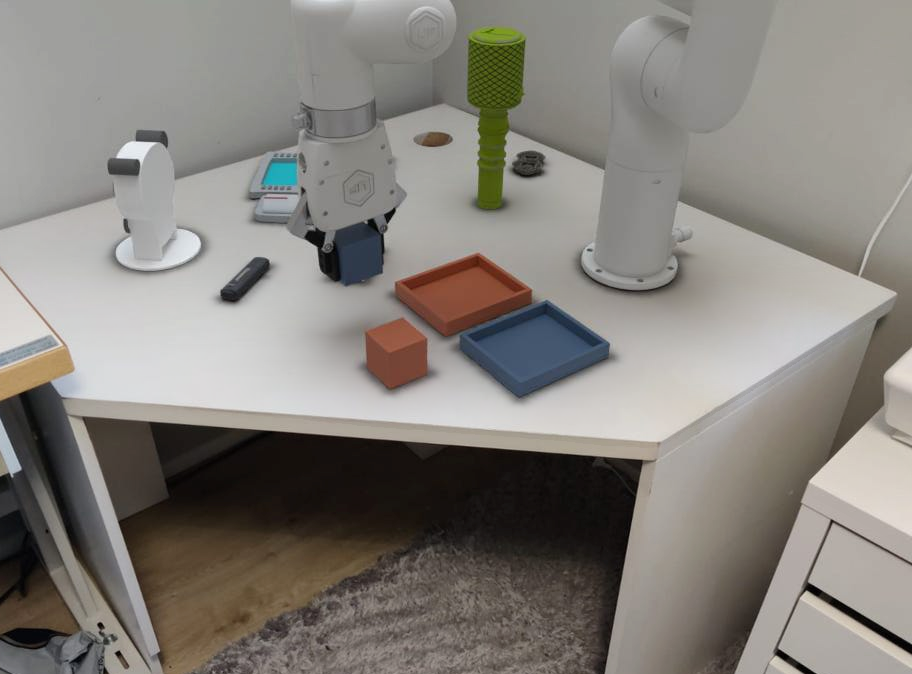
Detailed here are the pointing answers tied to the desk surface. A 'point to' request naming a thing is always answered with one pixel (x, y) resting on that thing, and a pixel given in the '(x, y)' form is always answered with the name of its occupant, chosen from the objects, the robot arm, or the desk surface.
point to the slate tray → (533, 347)
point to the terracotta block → (396, 352)
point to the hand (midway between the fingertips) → (353, 267)
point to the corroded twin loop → (529, 162)
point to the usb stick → (245, 278)
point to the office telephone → (276, 187)
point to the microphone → (494, 101)
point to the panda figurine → (149, 205)
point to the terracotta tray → (462, 293)
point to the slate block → (358, 253)
